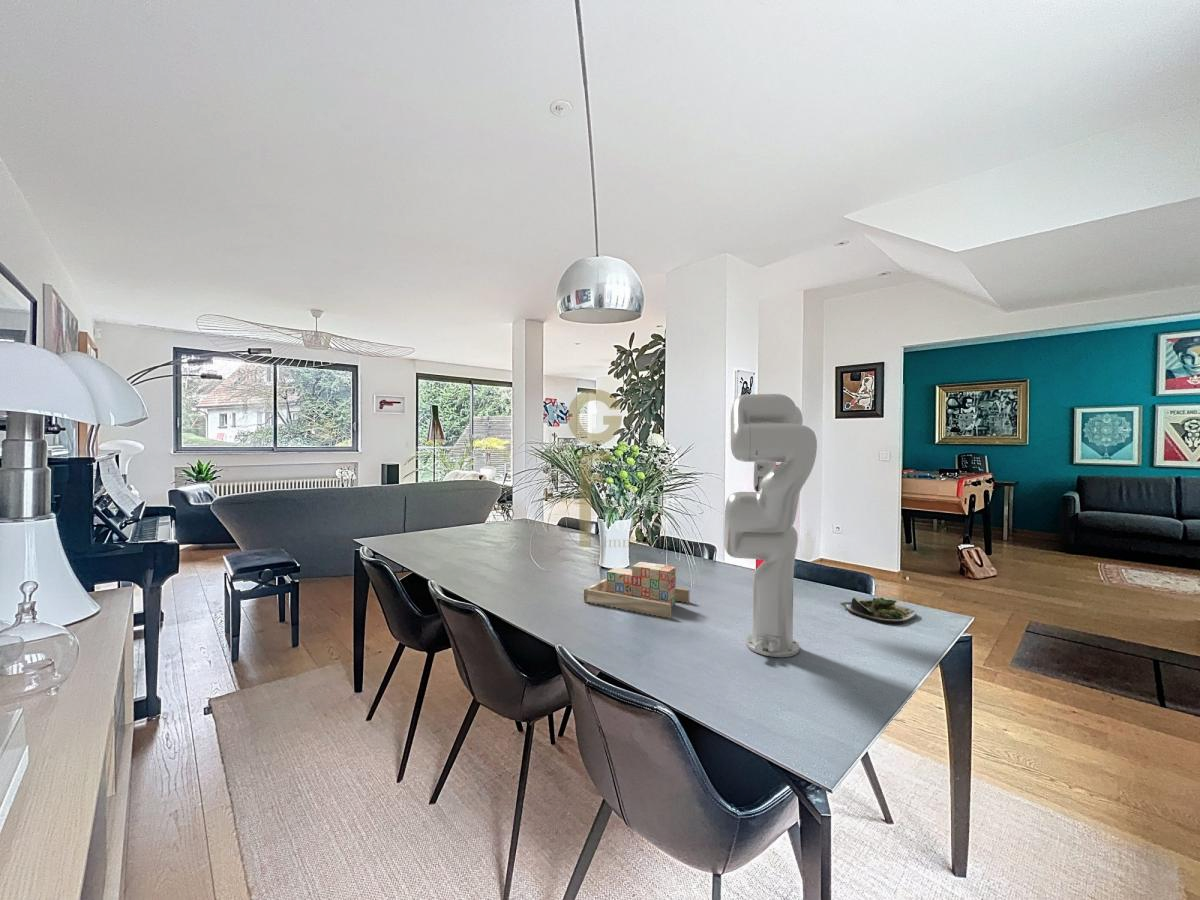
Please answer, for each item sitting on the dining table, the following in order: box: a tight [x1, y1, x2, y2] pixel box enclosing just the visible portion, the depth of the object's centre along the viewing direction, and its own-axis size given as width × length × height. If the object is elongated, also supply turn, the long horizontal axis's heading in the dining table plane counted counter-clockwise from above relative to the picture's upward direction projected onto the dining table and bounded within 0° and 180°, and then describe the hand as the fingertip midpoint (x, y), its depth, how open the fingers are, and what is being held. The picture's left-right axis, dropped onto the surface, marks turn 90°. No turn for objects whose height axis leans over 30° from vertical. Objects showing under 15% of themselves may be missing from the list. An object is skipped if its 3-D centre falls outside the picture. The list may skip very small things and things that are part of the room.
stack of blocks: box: [606, 561, 677, 608], centre depth 163 cm, size 21×6×12 cm, turn 60°
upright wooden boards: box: [583, 577, 691, 619], centre depth 163 cm, size 16×29×4 cm, turn 60°
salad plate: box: [840, 597, 917, 626], centre depth 154 cm, size 19×18×5 cm
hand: (764, 514), depth 154 cm, fingers closed
